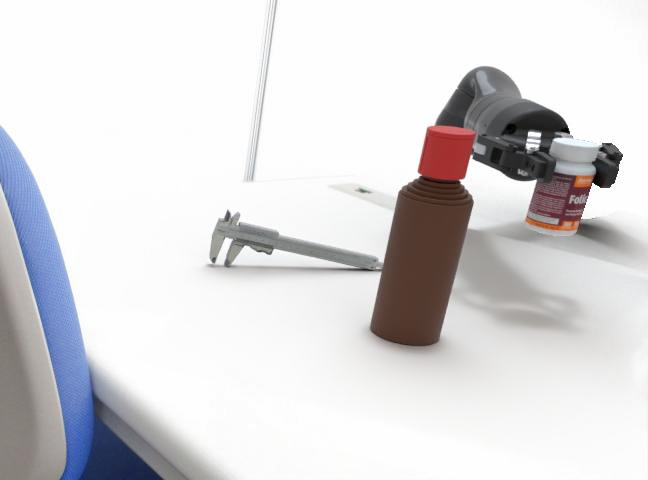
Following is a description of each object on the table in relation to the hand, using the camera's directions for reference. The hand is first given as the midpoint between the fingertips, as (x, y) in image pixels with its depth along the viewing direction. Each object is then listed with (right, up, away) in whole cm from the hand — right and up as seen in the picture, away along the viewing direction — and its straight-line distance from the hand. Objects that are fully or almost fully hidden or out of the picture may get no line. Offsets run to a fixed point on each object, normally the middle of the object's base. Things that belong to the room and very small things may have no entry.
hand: (579, 174), depth 80 cm
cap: (-14, -1, -4) cm, 15 cm away
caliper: (-22, -6, +19) cm, 29 cm away
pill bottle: (0, -4, +5) cm, 7 cm away
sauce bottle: (-15, -14, +3) cm, 21 cm away
